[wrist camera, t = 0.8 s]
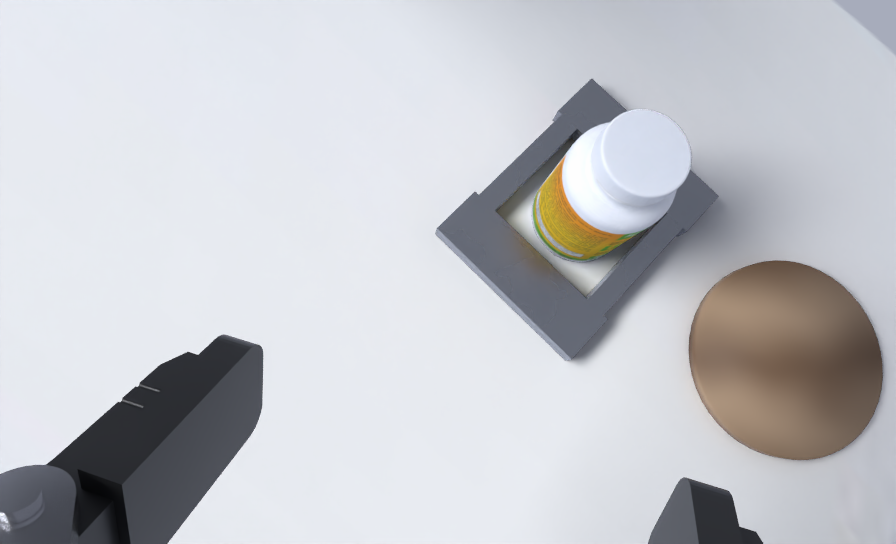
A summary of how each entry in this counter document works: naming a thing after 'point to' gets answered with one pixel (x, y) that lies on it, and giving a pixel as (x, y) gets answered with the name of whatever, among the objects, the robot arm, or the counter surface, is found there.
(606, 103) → the grey rectangular frame
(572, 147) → the supplement bottle
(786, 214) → the counter surface
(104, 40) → the counter surface
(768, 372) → the walnut pad
